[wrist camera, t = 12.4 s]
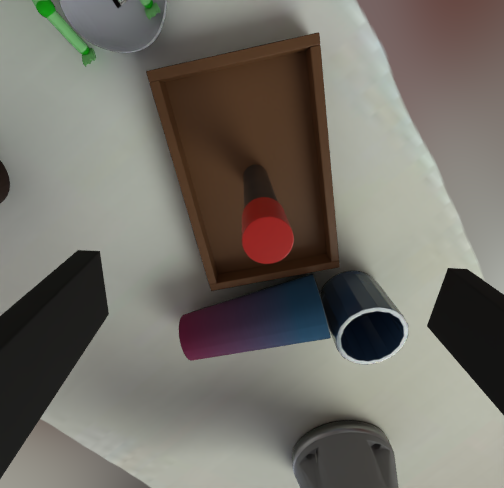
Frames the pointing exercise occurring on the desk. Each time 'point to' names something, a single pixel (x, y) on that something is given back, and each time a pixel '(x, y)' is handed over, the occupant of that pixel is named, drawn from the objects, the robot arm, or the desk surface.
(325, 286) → the pen cup
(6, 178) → the coffee mug
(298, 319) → the cup
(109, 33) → the shallow grey dish
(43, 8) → the toy character
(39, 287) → the robot arm
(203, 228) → the pen tray
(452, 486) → the desk surface
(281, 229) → the marker
